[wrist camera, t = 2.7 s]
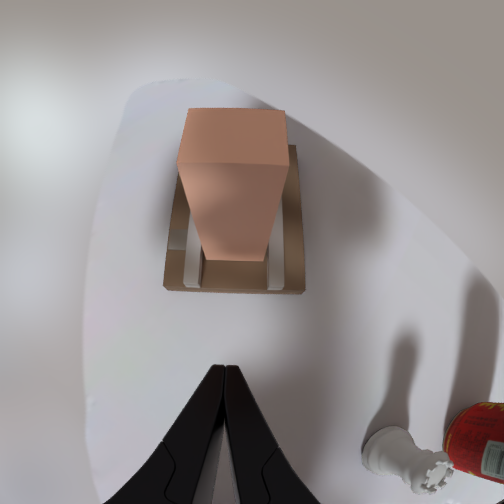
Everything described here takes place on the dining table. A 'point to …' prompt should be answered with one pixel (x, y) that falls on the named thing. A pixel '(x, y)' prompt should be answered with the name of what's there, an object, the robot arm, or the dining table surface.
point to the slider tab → (234, 178)
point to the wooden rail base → (239, 272)
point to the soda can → (478, 441)
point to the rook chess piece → (406, 460)
